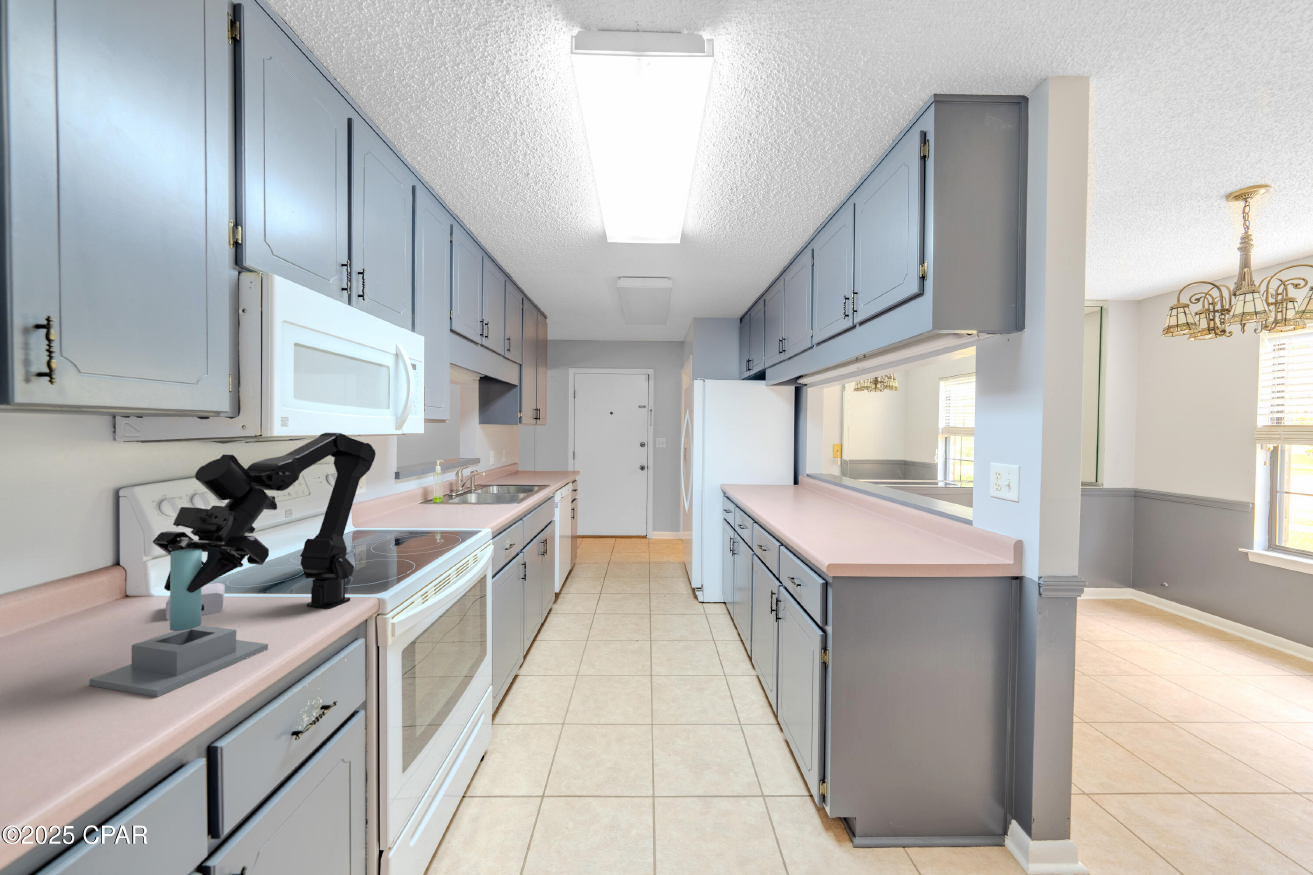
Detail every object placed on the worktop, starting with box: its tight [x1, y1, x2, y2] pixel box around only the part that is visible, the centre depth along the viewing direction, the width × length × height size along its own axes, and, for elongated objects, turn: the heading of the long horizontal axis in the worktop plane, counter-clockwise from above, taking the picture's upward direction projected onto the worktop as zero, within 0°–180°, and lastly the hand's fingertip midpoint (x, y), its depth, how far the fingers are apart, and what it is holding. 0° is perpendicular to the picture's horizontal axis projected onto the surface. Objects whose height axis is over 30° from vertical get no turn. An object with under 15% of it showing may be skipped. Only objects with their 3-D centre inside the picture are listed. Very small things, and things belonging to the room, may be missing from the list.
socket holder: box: [88, 624, 269, 698], centre depth 90 cm, size 18×14×5 cm
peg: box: [169, 549, 203, 632], centre depth 90 cm, size 4×4×13 cm
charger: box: [165, 582, 226, 621], centre depth 119 cm, size 5×9×15 cm
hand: (177, 590), depth 89 cm, fingers closed on peg, 4 cm apart
